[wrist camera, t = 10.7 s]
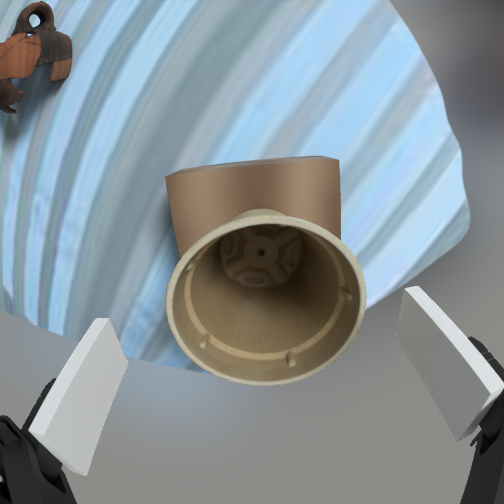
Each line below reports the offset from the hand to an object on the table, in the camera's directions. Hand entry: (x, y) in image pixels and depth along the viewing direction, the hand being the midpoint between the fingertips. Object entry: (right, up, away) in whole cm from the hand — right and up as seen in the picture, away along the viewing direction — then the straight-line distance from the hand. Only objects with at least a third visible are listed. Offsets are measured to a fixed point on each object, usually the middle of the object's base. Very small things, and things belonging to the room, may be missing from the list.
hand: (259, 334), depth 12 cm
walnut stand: (0, +6, +14) cm, 15 cm away
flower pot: (0, +4, +9) cm, 10 cm away
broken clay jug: (-22, +24, +7) cm, 33 cm away
